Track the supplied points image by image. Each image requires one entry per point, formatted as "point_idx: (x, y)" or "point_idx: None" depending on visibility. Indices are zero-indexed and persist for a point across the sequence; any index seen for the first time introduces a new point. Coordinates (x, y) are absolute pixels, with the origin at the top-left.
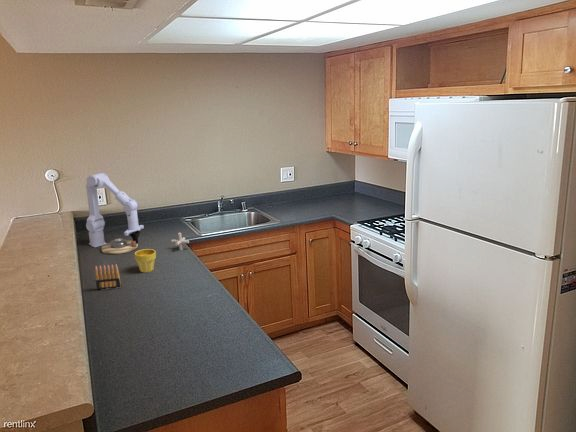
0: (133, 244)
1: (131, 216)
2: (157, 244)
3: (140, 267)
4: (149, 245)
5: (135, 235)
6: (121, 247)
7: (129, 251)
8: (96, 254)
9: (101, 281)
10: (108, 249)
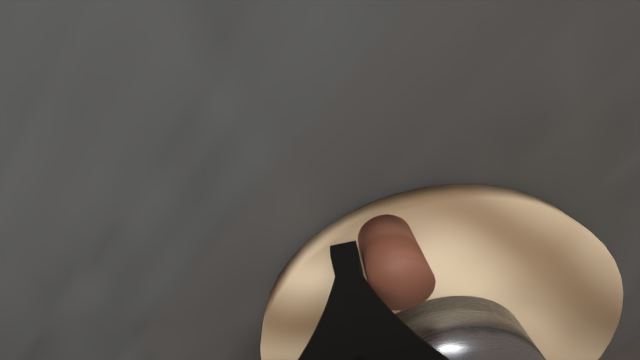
0: (415, 242)
1: None
2: (85, 115)
3: None
4: (187, 174)
5: (430, 352)
6: (487, 302)
7: (483, 185)
8: (605, 354)
9: None
10: (561, 350)
